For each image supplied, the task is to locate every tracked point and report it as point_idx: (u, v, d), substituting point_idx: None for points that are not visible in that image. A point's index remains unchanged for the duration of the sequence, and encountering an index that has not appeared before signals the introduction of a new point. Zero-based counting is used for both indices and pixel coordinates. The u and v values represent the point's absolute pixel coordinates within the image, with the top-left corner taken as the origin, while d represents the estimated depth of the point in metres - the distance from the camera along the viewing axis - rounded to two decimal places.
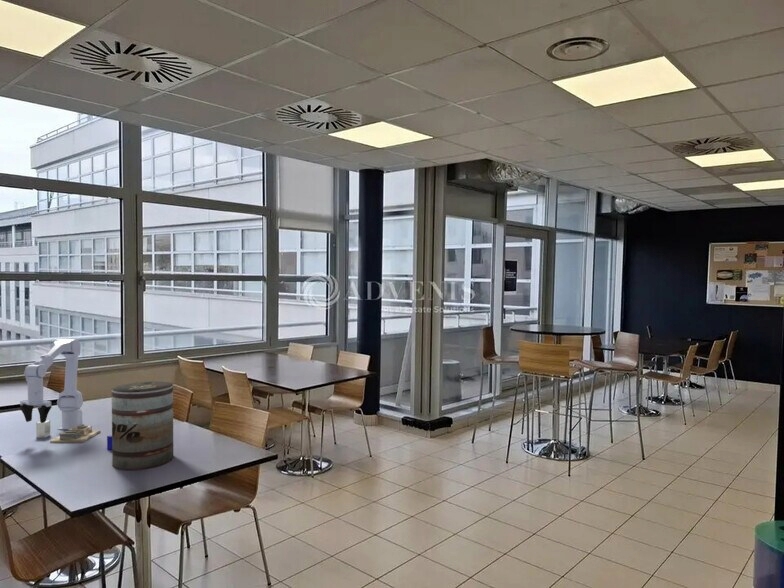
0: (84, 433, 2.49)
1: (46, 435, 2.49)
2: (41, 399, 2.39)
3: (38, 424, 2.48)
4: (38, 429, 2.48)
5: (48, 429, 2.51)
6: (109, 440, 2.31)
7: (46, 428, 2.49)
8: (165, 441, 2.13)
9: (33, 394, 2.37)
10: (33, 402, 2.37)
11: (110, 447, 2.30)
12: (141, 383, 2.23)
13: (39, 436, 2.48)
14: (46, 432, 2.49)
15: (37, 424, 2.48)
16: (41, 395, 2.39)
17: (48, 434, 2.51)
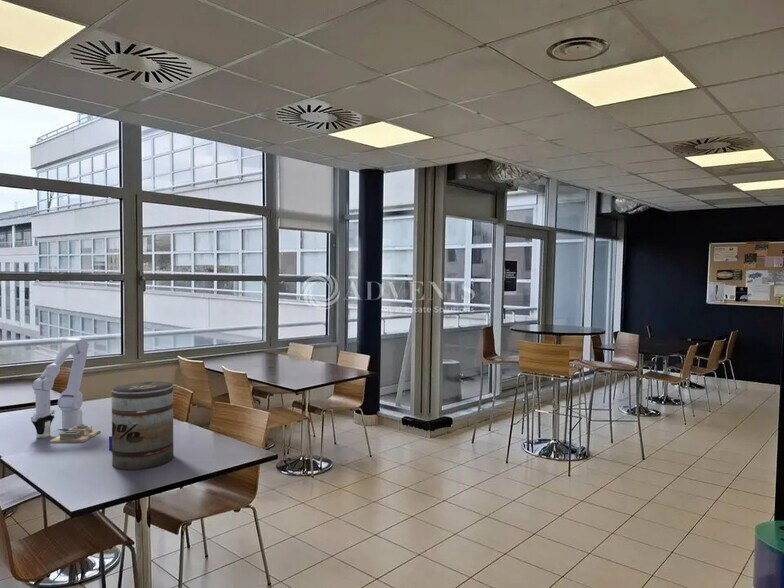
0: (84, 433, 2.49)
1: (46, 435, 2.49)
2: (39, 412, 2.47)
3: None
4: None
5: (48, 429, 2.51)
6: (111, 440, 2.30)
7: (46, 428, 2.49)
8: (165, 441, 2.13)
9: None
10: (35, 413, 2.49)
11: None
12: (141, 383, 2.23)
13: (39, 436, 2.48)
14: (46, 432, 2.49)
15: None
16: (40, 409, 2.47)
17: (48, 434, 2.51)
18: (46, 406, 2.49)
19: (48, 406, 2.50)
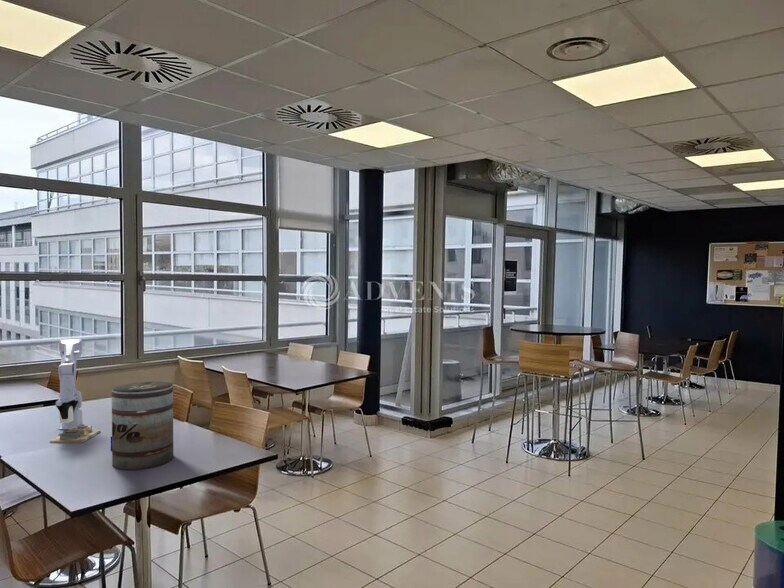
0: (84, 433, 2.49)
1: (69, 420, 2.50)
2: (64, 397, 2.48)
3: None
4: None
5: (71, 414, 2.52)
6: None
7: (69, 413, 2.50)
8: (165, 441, 2.13)
9: (60, 391, 2.50)
10: (60, 398, 2.50)
11: None
12: (141, 383, 2.23)
13: (62, 421, 2.49)
14: (69, 417, 2.50)
15: None
16: (64, 393, 2.48)
17: (71, 419, 2.52)
18: (70, 391, 2.50)
19: (72, 391, 2.51)
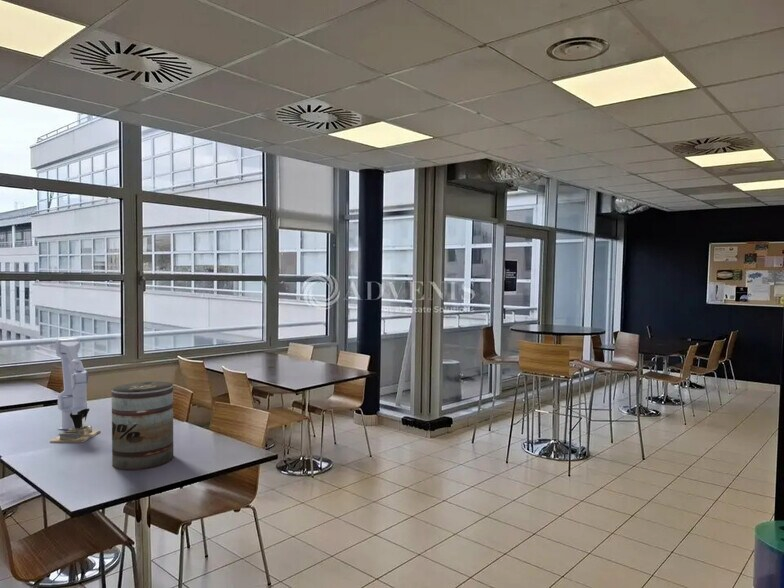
0: (84, 433, 2.49)
1: None
2: (78, 406, 2.49)
3: None
4: None
5: (84, 425, 2.53)
6: None
7: (83, 424, 2.52)
8: (165, 441, 2.13)
9: (72, 400, 2.50)
10: (72, 407, 2.50)
11: None
12: (141, 383, 2.23)
13: None
14: (83, 428, 2.52)
15: None
16: (78, 402, 2.49)
17: None
18: (84, 399, 2.51)
19: (85, 399, 2.52)
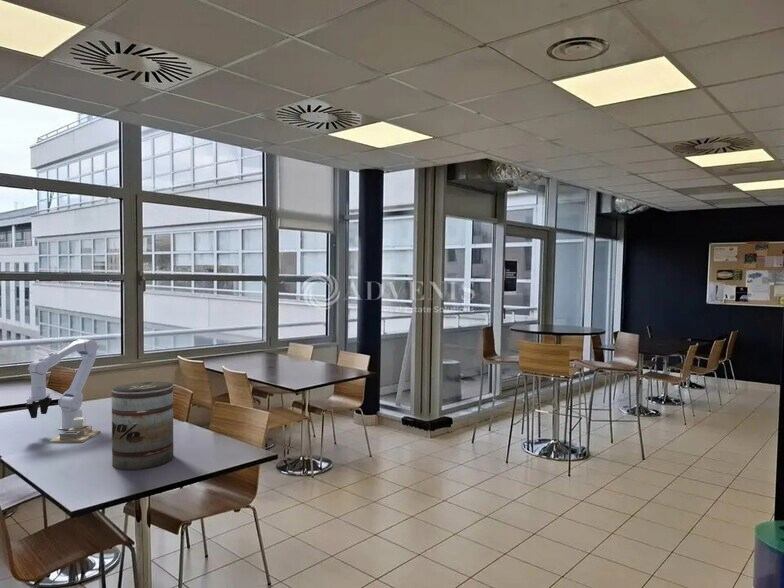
0: (84, 433, 2.49)
1: None
2: (35, 395, 2.48)
3: (75, 421, 2.50)
4: (75, 426, 2.50)
5: (84, 425, 2.53)
6: None
7: (83, 424, 2.52)
8: (165, 441, 2.13)
9: (31, 389, 2.49)
10: (31, 396, 2.49)
11: None
12: (141, 383, 2.23)
13: None
14: (83, 428, 2.52)
15: (74, 421, 2.50)
16: (35, 391, 2.48)
17: None
18: (42, 389, 2.49)
19: (44, 389, 2.50)
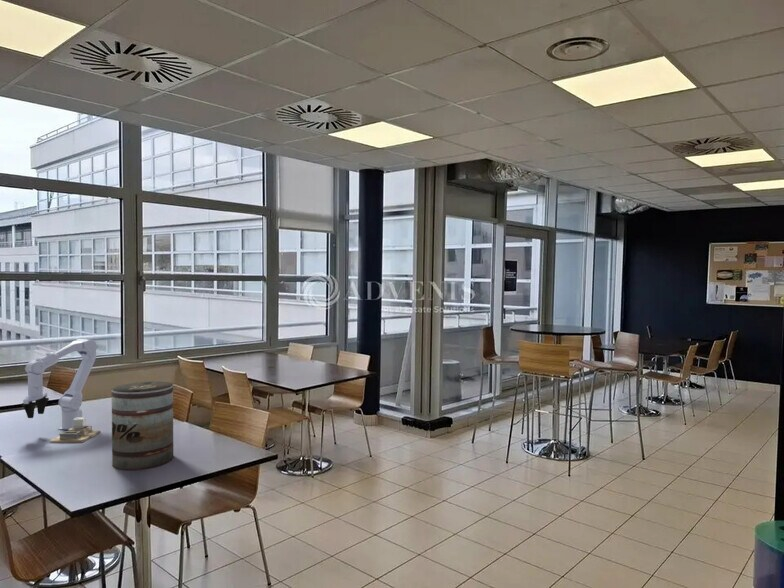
0: (84, 433, 2.49)
1: None
2: (32, 395, 2.48)
3: (75, 421, 2.50)
4: (75, 426, 2.50)
5: (84, 425, 2.53)
6: None
7: (83, 424, 2.52)
8: (165, 441, 2.13)
9: (28, 389, 2.49)
10: (28, 396, 2.49)
11: None
12: (141, 383, 2.23)
13: None
14: (83, 428, 2.52)
15: (74, 421, 2.50)
16: (32, 391, 2.48)
17: None
18: (38, 389, 2.49)
19: (40, 389, 2.50)
